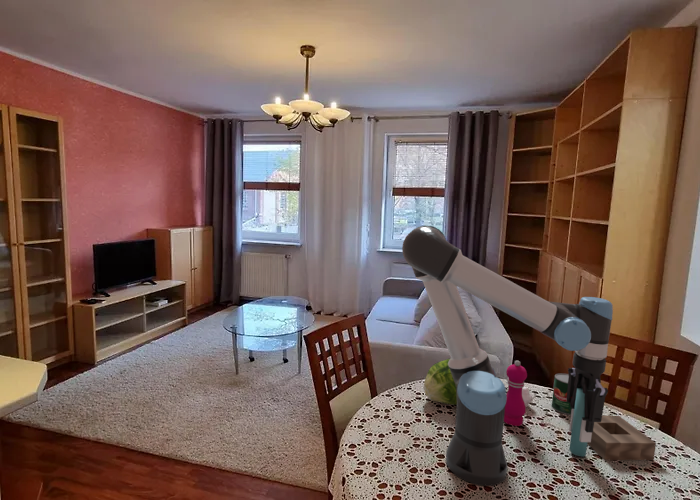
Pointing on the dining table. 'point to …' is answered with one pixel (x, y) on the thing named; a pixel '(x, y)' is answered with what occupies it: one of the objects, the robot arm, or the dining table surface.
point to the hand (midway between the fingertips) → (579, 436)
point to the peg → (578, 425)
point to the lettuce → (440, 384)
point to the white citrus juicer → (526, 396)
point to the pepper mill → (515, 395)
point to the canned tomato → (561, 394)
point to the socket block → (620, 440)
